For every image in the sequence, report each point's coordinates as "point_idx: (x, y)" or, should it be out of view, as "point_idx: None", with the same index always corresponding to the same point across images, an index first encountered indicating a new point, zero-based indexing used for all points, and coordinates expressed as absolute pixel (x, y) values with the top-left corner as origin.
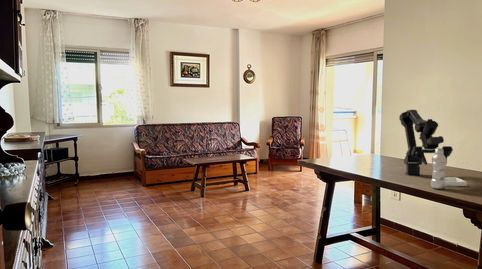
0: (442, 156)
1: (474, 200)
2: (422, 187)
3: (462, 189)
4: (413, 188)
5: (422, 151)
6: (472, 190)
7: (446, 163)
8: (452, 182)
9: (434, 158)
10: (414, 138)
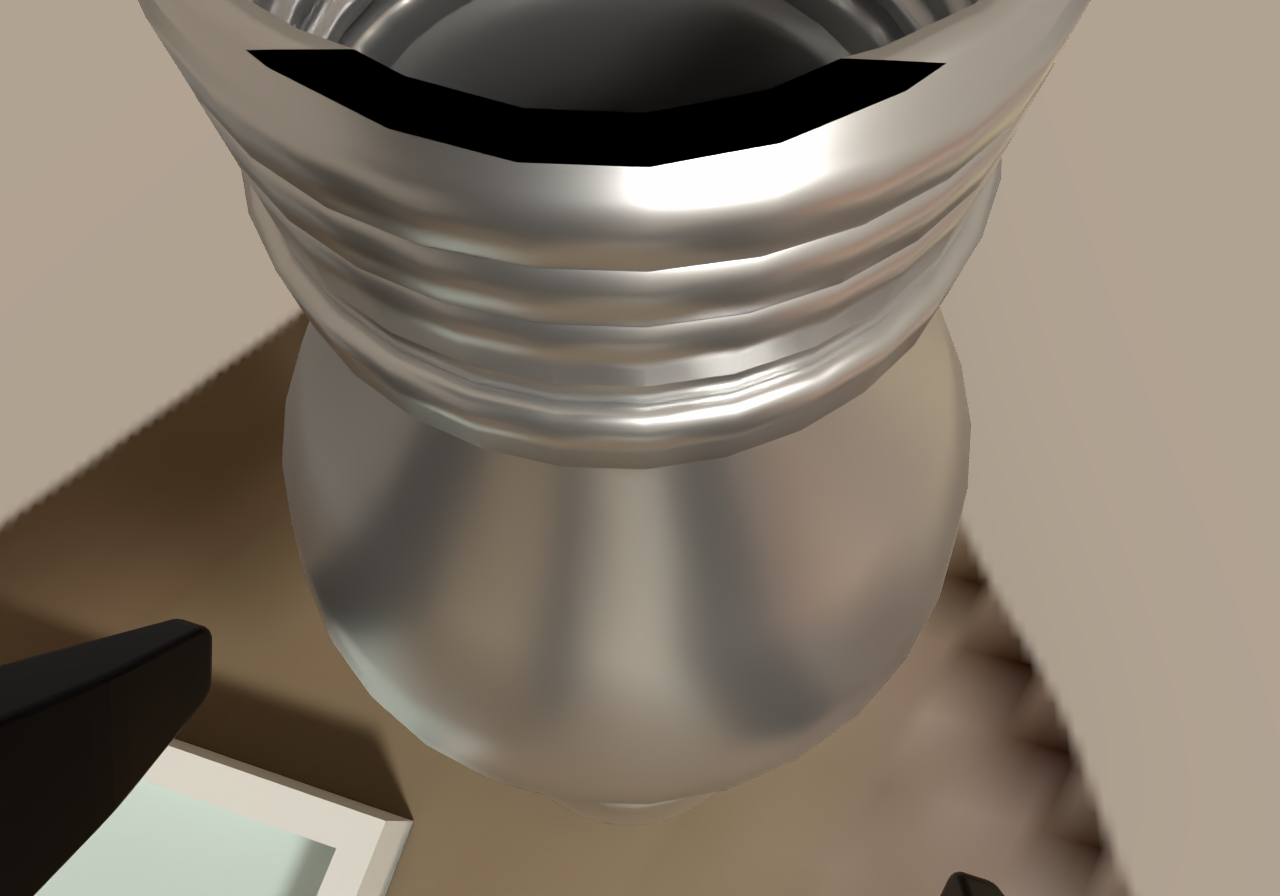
0: (640, 89)
1: None
2: (860, 855)
3: (290, 528)
4: (1080, 824)
5: None
6: (210, 440)
7: (169, 623)
8: (204, 758)
9: (953, 347)
10: None
